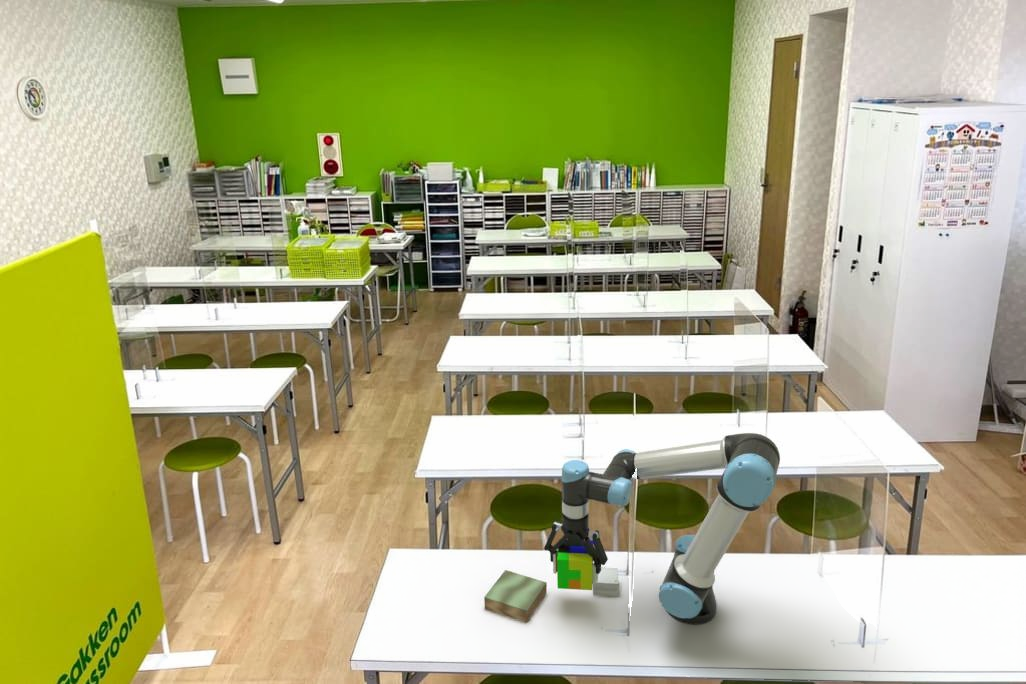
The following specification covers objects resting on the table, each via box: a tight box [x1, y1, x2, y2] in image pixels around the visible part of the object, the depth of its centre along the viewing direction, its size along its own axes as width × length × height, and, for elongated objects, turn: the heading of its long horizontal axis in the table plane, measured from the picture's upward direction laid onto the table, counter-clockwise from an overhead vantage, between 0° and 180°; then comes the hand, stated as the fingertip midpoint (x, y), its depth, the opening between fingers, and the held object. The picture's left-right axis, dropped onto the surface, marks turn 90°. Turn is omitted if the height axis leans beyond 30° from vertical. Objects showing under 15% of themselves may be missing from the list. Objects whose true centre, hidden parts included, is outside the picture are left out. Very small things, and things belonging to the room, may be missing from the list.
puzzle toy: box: [556, 539, 594, 591], centre depth 224 cm, size 10×10×10 cm
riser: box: [483, 569, 548, 624], centre depth 230 cm, size 14×14×4 cm
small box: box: [592, 566, 620, 597], centre depth 236 cm, size 8×8×5 cm
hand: (575, 576), depth 226 cm, fingers closed on puzzle toy, 12 cm apart
